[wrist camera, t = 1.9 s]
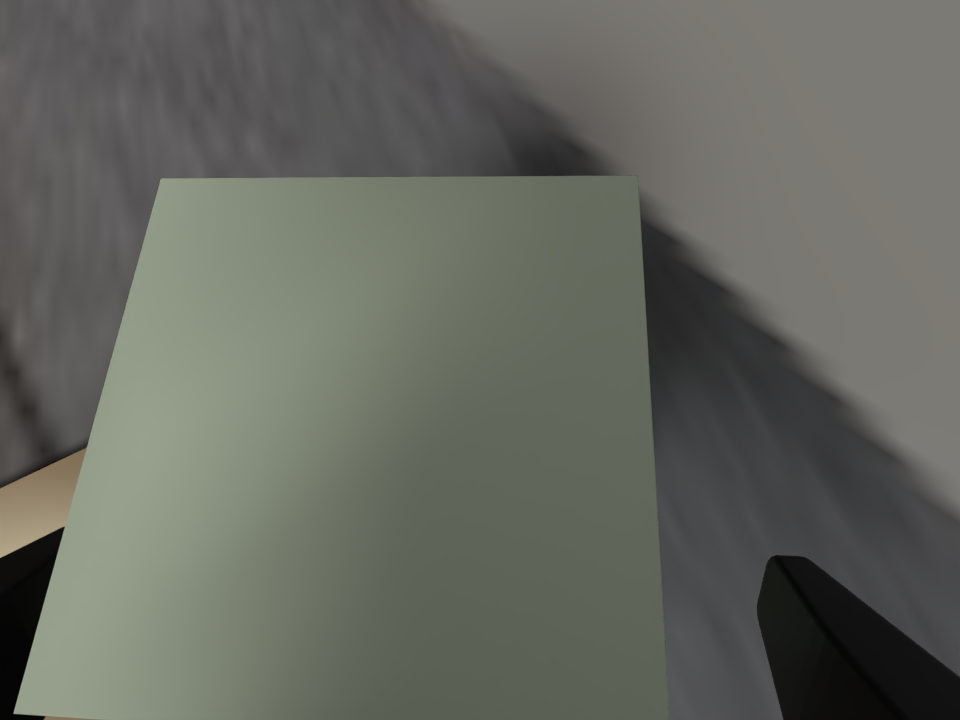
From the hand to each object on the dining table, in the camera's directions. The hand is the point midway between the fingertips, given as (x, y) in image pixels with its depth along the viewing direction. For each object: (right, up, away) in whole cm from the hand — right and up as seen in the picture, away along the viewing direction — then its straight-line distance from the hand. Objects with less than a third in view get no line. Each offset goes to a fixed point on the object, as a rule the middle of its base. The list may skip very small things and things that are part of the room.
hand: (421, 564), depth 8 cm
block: (+1, -2, +9) cm, 9 cm away
